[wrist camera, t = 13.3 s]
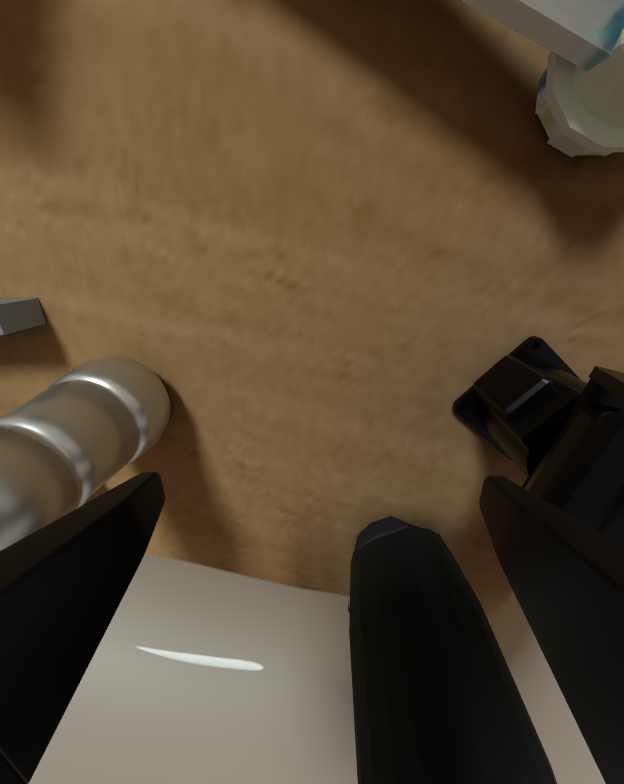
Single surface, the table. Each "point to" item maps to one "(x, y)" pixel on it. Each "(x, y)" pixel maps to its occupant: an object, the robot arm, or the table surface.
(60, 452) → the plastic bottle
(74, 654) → the robot arm
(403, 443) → the table surface
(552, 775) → the portable speaker
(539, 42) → the grey piece
